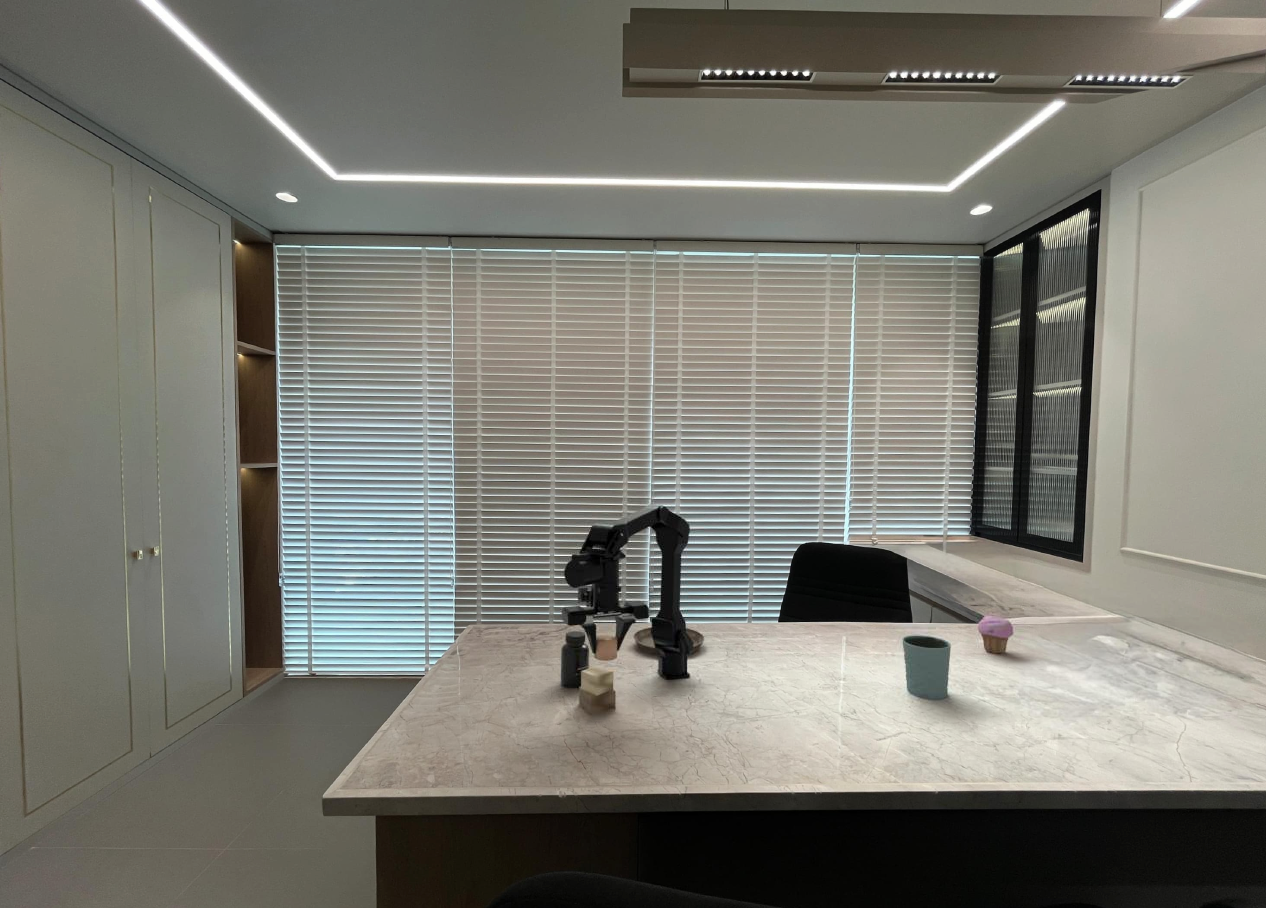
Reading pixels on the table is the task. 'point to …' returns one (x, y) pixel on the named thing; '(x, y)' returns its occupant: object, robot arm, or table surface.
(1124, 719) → the table surface
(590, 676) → the oak block
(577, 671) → the supplement bottle
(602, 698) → the walnut block
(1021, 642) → the table surface
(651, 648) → the plant saucer
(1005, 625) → the cupcake
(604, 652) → the peach cylinder
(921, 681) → the teal cup
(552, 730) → the table surface
